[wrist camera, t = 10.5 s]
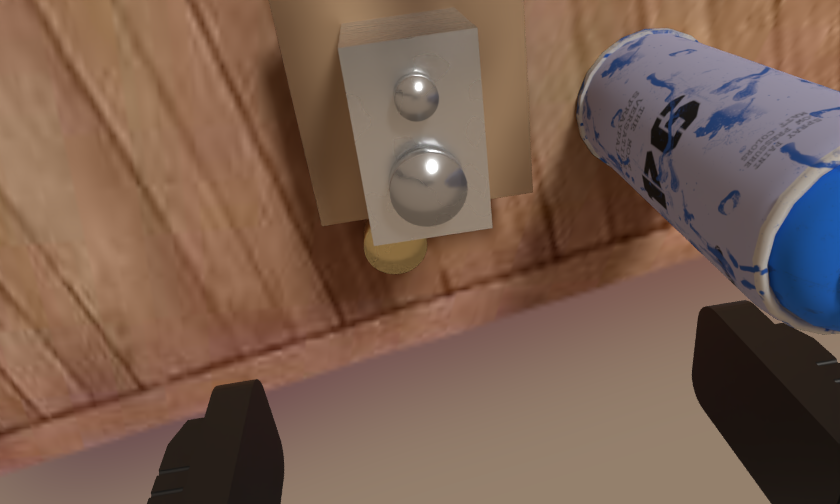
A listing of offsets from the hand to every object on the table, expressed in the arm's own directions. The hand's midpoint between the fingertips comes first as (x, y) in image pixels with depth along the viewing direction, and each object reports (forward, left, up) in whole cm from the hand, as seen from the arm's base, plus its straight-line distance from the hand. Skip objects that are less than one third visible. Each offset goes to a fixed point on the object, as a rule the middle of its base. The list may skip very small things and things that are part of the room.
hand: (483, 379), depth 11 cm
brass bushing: (-2, -9, -24) cm, 26 cm away
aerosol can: (+13, -3, -24) cm, 28 cm away
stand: (0, 0, -24) cm, 24 cm away
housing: (0, 0, -20) cm, 20 cm away
